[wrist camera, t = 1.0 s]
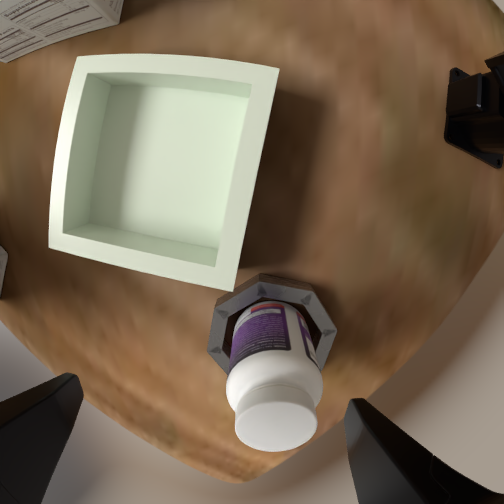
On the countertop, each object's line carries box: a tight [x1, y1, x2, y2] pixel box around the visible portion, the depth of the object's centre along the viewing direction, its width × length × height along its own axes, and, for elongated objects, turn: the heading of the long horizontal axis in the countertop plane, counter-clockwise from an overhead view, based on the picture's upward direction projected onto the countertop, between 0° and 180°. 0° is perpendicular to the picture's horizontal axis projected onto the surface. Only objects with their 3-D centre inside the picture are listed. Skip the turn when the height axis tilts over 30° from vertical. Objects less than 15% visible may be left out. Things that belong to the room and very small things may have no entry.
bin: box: [49, 54, 279, 292], centre depth 17 cm, size 12×12×4 cm
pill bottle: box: [226, 301, 323, 452], centre depth 17 cm, size 5×5×10 cm
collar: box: [207, 274, 337, 375], centre depth 21 cm, size 9×9×2 cm
